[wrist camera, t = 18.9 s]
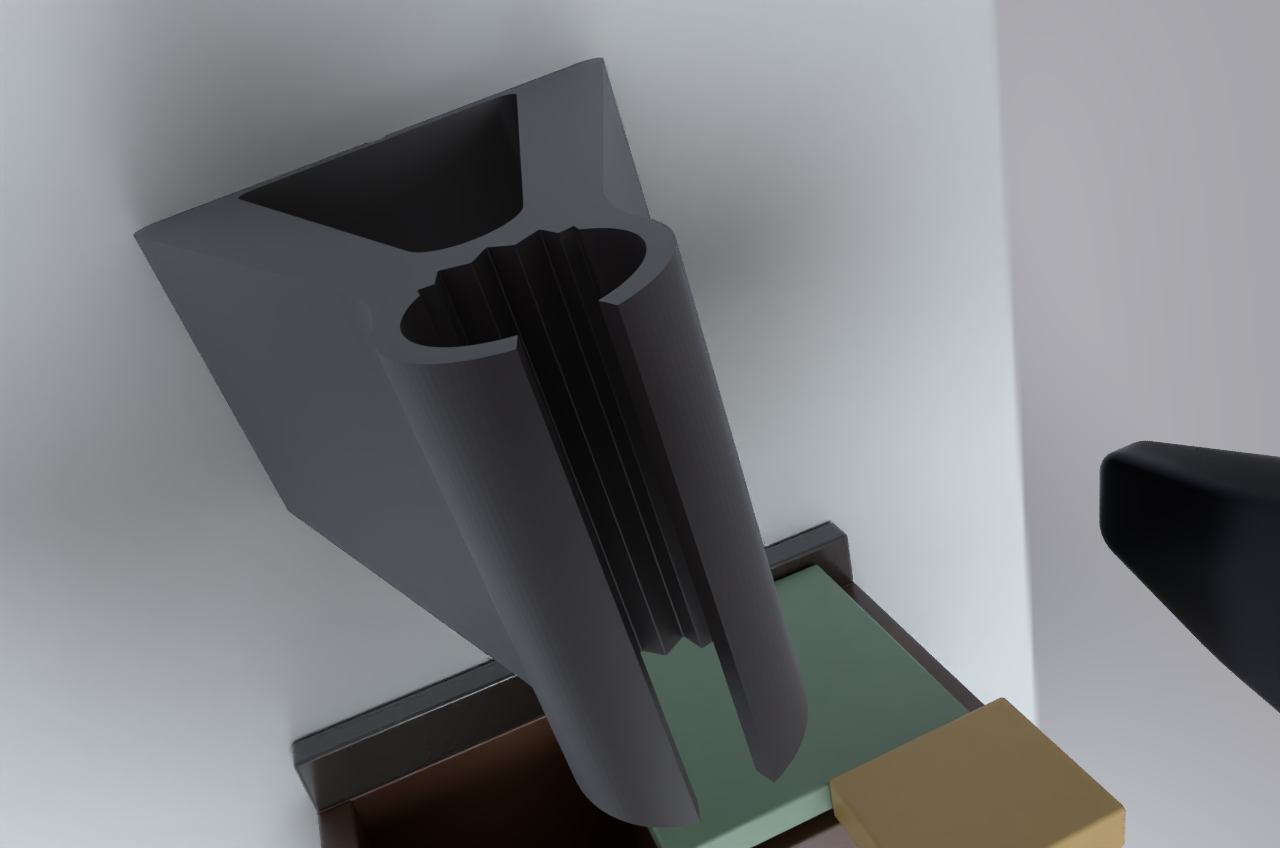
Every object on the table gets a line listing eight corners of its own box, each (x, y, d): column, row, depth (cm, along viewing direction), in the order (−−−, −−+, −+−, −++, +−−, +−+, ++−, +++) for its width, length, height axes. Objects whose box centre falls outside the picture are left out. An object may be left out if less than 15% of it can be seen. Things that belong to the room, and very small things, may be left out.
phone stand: (597, 55, 19) (1020, 132, 9) (677, 330, 22) (1068, 624, 12) (133, 226, 18) (10, 559, 7) (284, 501, 21) (347, 1016, 10)
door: (840, 547, 25) (1128, 807, 17) (844, 579, 26) (1126, 847, 18) (568, 661, 23) (747, 1008, 16) (578, 693, 24) (756, 1046, 16)
